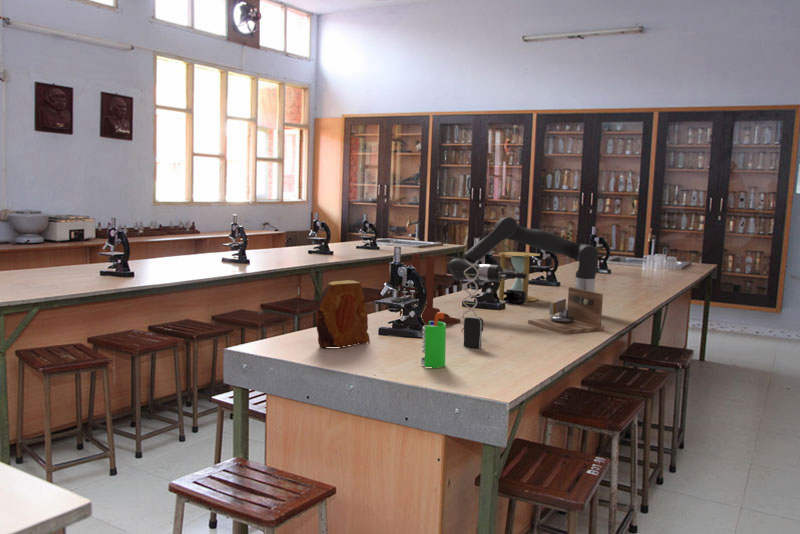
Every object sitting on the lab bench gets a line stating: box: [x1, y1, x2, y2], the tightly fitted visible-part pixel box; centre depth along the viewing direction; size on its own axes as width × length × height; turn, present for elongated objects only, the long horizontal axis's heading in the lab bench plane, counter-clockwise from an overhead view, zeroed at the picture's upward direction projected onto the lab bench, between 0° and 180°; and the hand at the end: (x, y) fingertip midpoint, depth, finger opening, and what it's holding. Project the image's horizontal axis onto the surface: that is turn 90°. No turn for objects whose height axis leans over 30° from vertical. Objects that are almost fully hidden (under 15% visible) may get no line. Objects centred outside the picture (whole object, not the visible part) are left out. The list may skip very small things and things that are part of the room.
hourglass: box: [498, 251, 541, 303], centre depth 381 cm, size 24×22×25 cm
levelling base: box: [527, 287, 605, 335], centre depth 307 cm, size 22×24×16 cm
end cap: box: [503, 289, 526, 306], centre depth 367 cm, size 10×7×7 cm
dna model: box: [461, 260, 479, 332], centre depth 289 cm, size 7×6×30 cm
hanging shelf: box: [399, 252, 461, 326], centre depth 313 cm, size 24×13×30 cm, turn 47°
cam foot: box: [549, 298, 574, 323], centre depth 308 cm, size 20×10×10 cm, turn 148°
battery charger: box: [463, 315, 484, 349], centre depth 264 cm, size 7×4×11 cm, turn 55°
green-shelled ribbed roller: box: [420, 311, 447, 369], centre depth 235 cm, size 9×8×18 cm
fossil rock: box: [314, 279, 371, 348], centre depth 260 cm, size 24×8×24 cm, turn 128°
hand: (525, 276), depth 311 cm, fingers closed
